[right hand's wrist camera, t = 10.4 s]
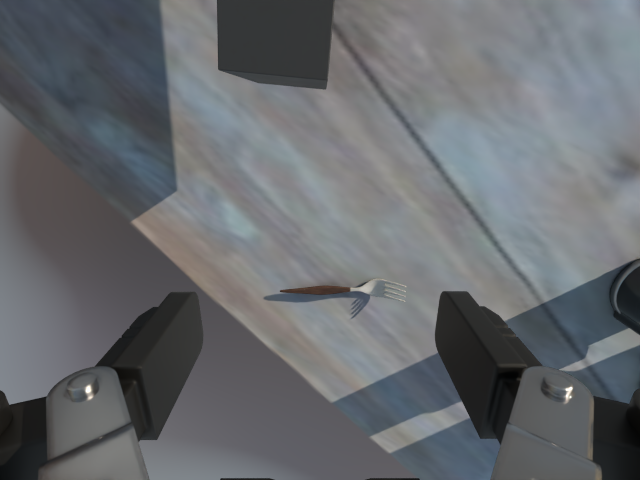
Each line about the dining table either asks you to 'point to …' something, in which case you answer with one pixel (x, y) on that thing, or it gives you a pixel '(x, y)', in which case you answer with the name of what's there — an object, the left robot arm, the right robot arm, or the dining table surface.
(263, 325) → the dining table surface
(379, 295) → the fork
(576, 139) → the dining table surface
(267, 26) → the box
